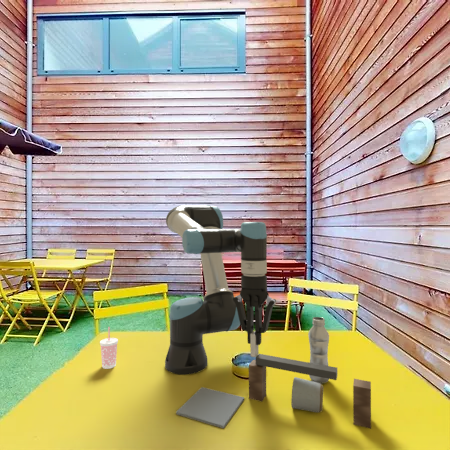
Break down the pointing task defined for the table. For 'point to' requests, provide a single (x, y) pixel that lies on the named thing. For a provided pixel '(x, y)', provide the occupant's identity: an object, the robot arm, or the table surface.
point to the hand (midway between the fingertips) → (254, 355)
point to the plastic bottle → (318, 346)
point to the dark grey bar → (297, 366)
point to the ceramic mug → (307, 395)
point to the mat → (211, 407)
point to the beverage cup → (108, 351)
